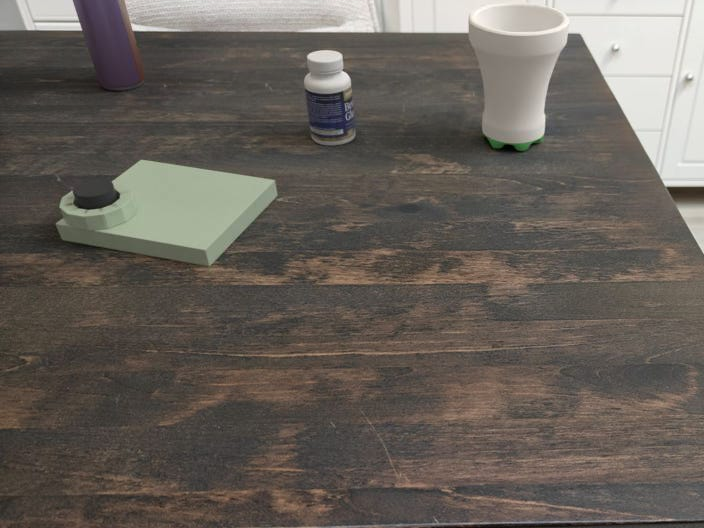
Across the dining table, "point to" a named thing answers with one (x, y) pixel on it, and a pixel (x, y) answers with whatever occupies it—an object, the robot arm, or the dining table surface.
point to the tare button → (95, 194)
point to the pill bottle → (329, 99)
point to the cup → (516, 67)
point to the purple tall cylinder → (111, 43)
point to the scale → (170, 212)
